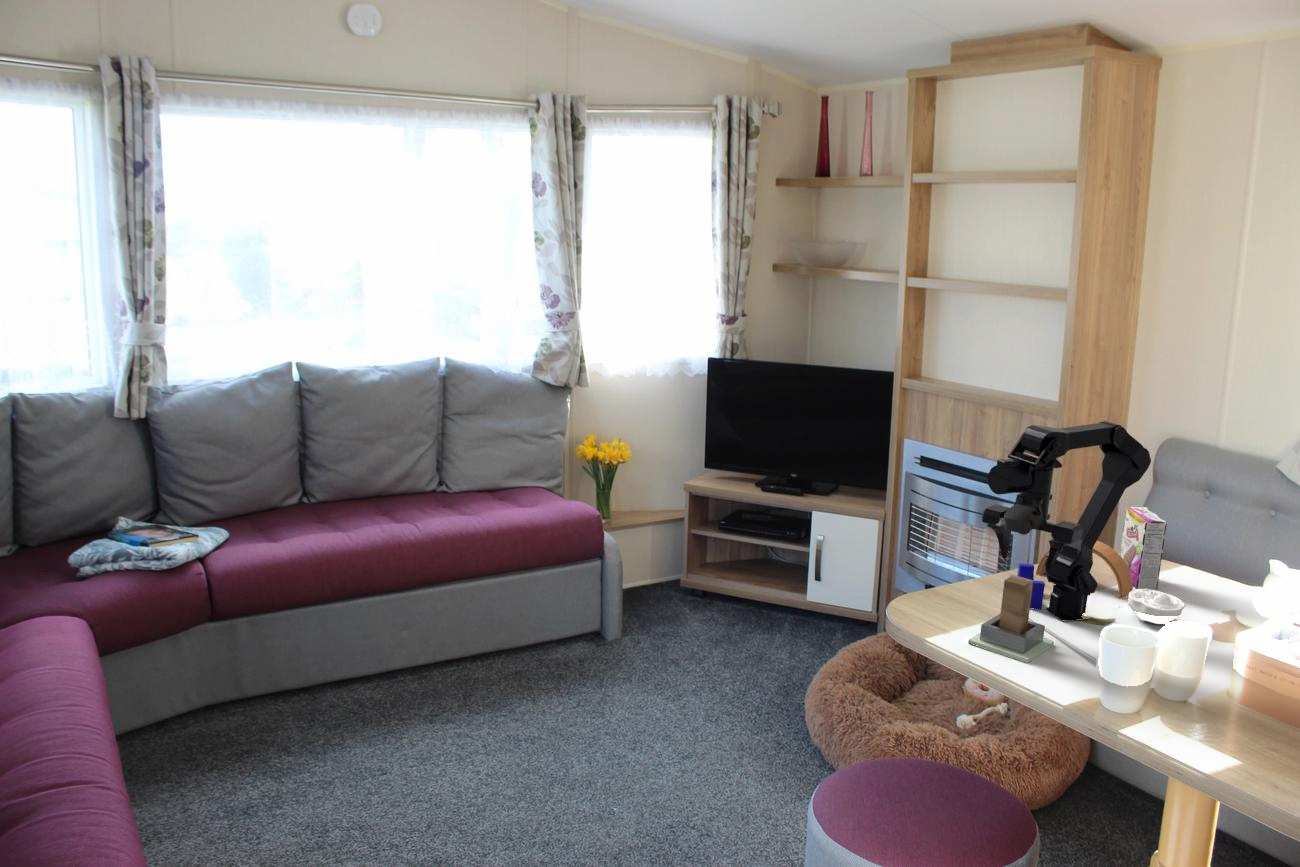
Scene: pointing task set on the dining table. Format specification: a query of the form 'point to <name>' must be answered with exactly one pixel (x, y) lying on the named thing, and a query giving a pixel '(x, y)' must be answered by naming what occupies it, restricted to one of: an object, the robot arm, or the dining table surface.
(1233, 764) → the dining table surface
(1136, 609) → the cell model
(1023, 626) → the walnut post
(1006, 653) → the base plate
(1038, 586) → the cable clip
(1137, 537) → the candy bar box
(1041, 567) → the arch
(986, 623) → the steel collar
